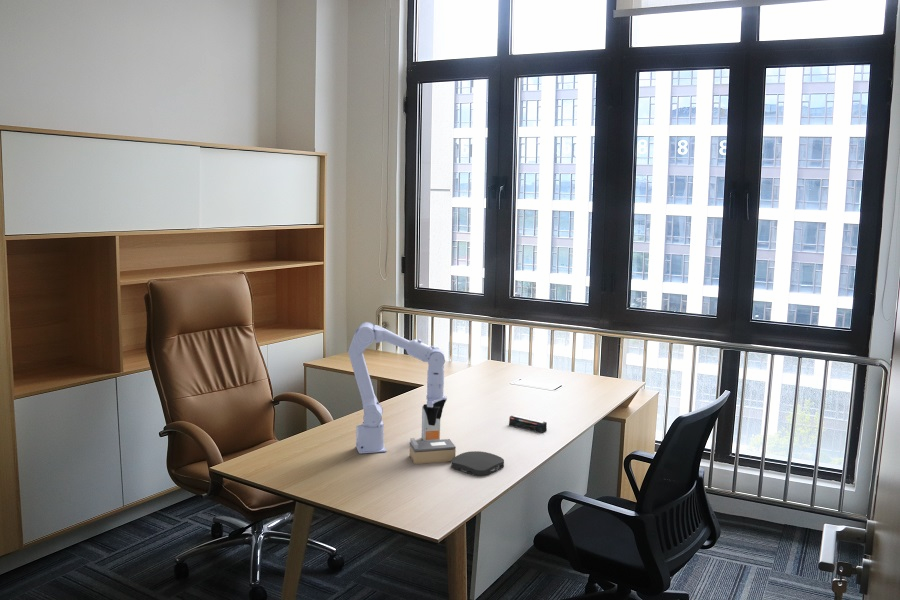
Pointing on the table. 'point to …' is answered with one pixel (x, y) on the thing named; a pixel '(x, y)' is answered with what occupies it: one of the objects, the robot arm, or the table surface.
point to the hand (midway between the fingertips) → (434, 421)
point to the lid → (431, 445)
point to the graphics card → (528, 423)
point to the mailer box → (432, 456)
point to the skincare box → (430, 428)
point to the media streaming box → (477, 463)
